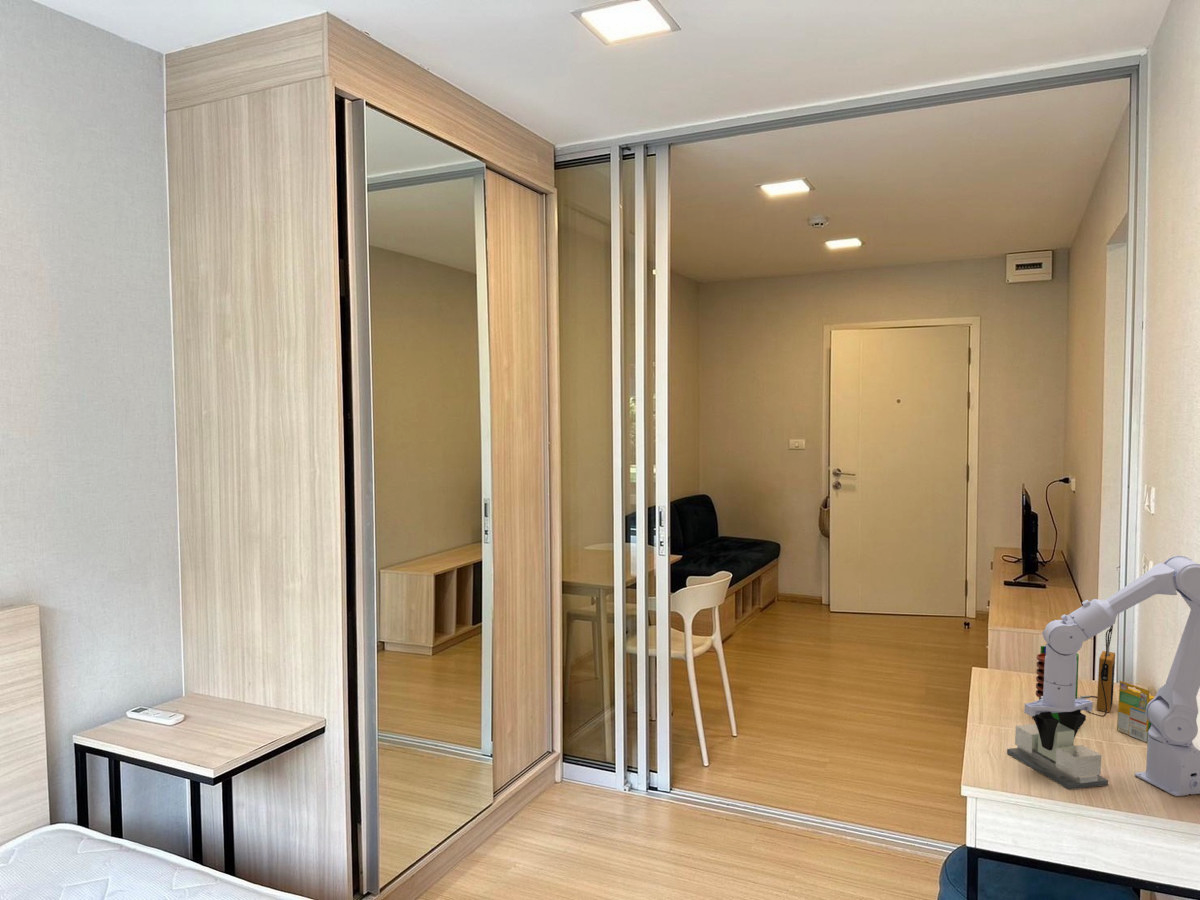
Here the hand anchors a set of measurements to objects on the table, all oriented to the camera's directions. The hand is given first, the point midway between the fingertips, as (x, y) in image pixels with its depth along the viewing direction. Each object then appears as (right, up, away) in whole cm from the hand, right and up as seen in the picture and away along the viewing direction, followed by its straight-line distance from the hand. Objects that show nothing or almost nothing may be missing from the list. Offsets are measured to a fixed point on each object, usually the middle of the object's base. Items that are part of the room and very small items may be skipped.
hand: (1056, 747), depth 174 cm
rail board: (0, -4, 0) cm, 4 cm away
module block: (0, -2, 0) cm, 2 cm away
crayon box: (+27, -4, +18) cm, 33 cm away
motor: (+15, -3, +29) cm, 32 cm away
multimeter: (+28, -3, +38) cm, 47 cm away
